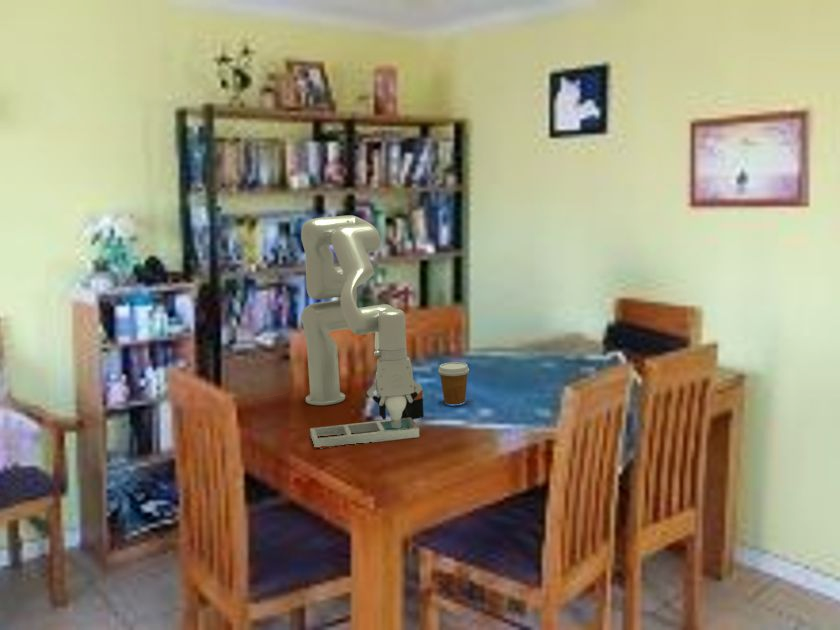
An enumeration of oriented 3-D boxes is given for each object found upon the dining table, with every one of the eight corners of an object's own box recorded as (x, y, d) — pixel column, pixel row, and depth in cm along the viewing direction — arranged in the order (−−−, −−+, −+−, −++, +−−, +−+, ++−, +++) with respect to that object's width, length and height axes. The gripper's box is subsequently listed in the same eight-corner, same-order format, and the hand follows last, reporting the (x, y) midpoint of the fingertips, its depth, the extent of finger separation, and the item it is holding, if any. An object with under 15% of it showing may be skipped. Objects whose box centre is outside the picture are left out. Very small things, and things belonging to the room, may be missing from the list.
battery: (424, 416, 254) (422, 383, 252) (405, 421, 250) (404, 388, 248) (415, 413, 258) (413, 381, 256) (397, 418, 254) (395, 385, 252)
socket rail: (310, 437, 240) (310, 428, 239) (411, 425, 246) (410, 417, 246) (314, 449, 230) (314, 440, 230) (419, 437, 236) (418, 428, 236)
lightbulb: (396, 423, 244) (395, 386, 242) (412, 428, 240) (410, 390, 238) (380, 429, 240) (378, 391, 238) (395, 434, 236) (394, 395, 233)
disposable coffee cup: (439, 408, 261) (438, 370, 259) (439, 399, 271) (437, 362, 268) (471, 407, 261) (470, 368, 259) (469, 398, 271) (468, 361, 268)
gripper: (364, 360, 230) (367, 424, 234) (426, 354, 234) (429, 417, 238) (359, 353, 238) (363, 416, 241) (420, 348, 241) (422, 409, 245)
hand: (395, 416), depth 239 cm, fingers closed on lightbulb, 6 cm apart
